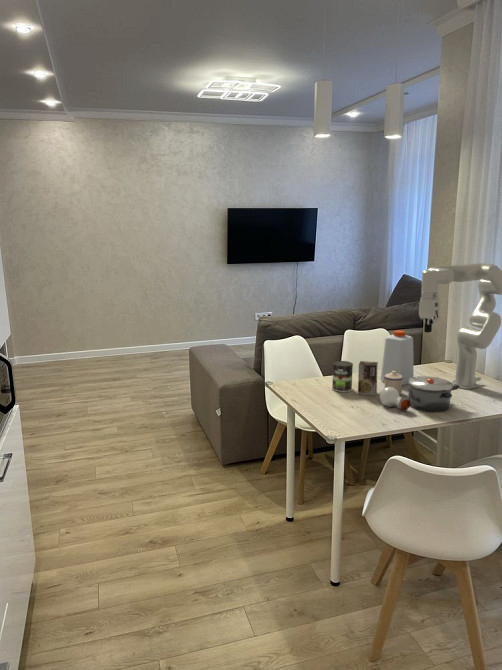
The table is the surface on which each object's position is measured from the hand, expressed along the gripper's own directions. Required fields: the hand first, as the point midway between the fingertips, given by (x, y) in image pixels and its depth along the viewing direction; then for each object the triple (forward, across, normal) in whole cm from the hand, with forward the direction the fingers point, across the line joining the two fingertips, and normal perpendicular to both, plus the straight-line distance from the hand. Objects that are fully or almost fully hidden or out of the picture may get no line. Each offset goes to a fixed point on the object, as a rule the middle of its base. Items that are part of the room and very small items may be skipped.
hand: (427, 331), depth 261 cm
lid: (+22, -13, +10) cm, 28 cm away
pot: (+32, -14, +11) cm, 36 cm away
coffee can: (+32, +25, +34) cm, 52 cm away
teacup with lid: (+32, +10, +14) cm, 36 cm away
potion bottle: (+32, -8, +28) cm, 43 cm away
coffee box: (+32, +14, +26) cm, 43 cm away
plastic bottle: (+33, +23, -1) cm, 40 cm away
